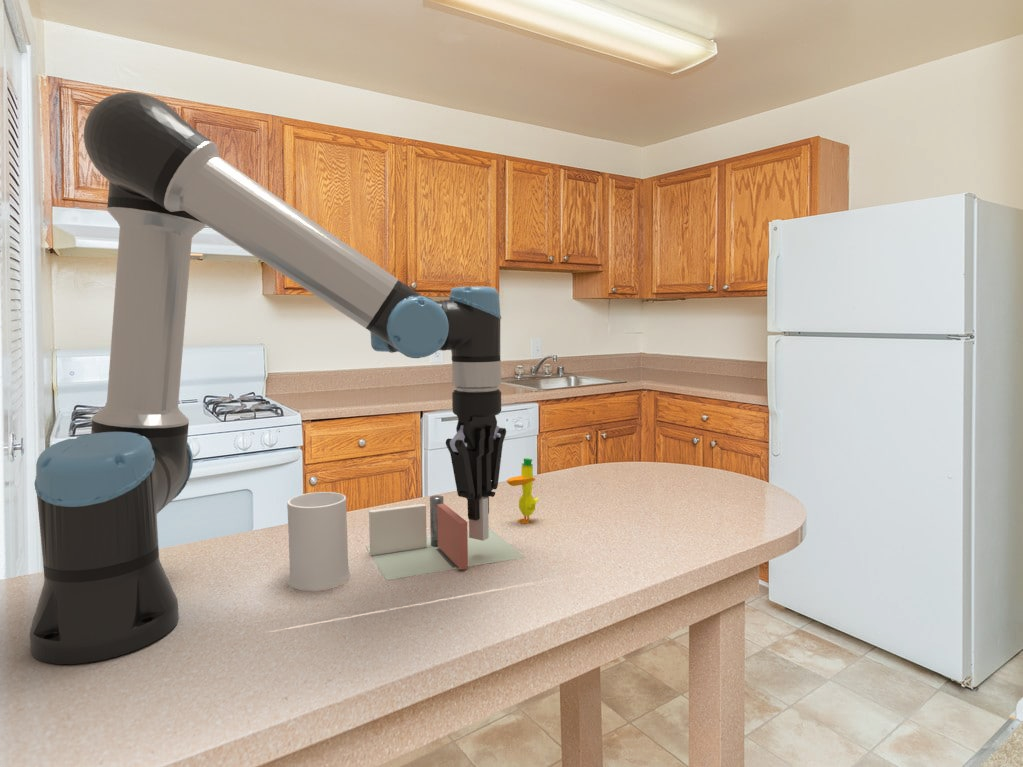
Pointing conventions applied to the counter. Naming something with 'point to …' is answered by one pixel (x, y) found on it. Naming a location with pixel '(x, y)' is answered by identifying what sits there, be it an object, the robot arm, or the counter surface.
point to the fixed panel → (397, 529)
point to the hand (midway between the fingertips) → (478, 537)
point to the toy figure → (525, 490)
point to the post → (434, 518)
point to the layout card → (443, 557)
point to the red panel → (452, 535)
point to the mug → (318, 541)
